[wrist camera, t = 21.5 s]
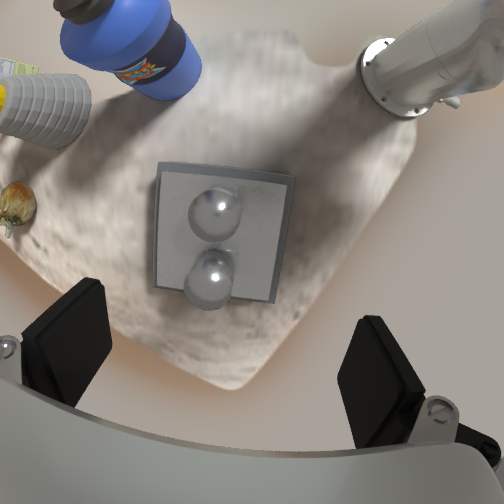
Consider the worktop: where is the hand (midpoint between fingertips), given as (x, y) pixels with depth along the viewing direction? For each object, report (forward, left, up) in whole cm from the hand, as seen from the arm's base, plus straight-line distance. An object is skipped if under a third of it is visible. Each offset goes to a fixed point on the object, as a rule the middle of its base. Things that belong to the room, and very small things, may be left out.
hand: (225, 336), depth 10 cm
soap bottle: (+31, -13, -29) cm, 44 cm away
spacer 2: (+3, +7, -23) cm, 24 cm away
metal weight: (+3, 0, -23) cm, 23 cm away
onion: (+38, +2, -29) cm, 48 cm away
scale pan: (+3, +3, -24) cm, 24 cm away
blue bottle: (+13, -18, -29) cm, 37 cm away
